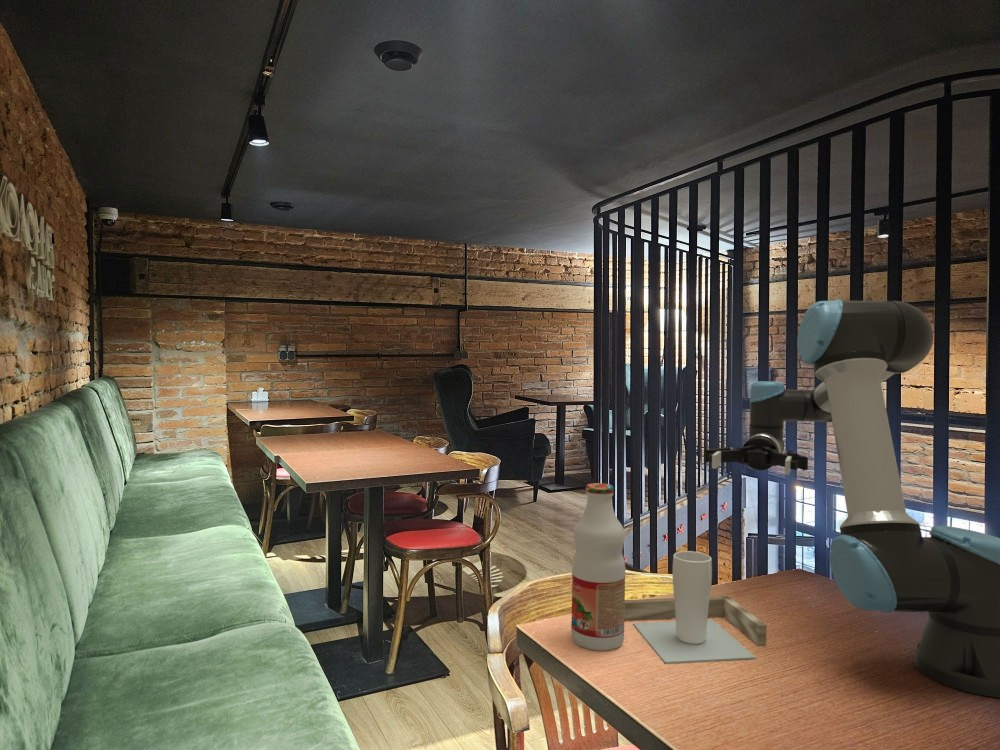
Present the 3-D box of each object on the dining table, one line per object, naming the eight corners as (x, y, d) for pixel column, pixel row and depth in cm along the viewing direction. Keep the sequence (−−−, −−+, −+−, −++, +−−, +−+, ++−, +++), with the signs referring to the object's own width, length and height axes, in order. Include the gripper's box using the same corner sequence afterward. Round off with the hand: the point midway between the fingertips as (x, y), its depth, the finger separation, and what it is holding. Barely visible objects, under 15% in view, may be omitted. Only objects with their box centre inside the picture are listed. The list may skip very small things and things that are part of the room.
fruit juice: (623, 654, 112) (626, 491, 111) (568, 649, 114) (570, 489, 113) (624, 632, 121) (627, 481, 121) (573, 627, 123) (575, 479, 123)
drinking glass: (665, 640, 117) (667, 557, 117) (678, 628, 123) (680, 548, 122) (703, 650, 113) (705, 564, 113) (715, 637, 119) (717, 555, 119)
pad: (755, 659, 111) (755, 657, 111) (665, 663, 109) (665, 661, 109) (712, 621, 127) (712, 619, 127) (633, 624, 125) (633, 623, 125)
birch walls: (766, 644, 117) (766, 625, 117) (638, 651, 114) (639, 631, 113) (727, 613, 131) (727, 595, 131) (613, 618, 128) (613, 600, 128)
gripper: (822, 473, 143) (819, 490, 124) (704, 463, 154) (685, 477, 135) (823, 438, 142) (820, 450, 124) (704, 431, 154) (685, 441, 135)
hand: (749, 464), depth 129 cm, fingers open, 13 cm apart
